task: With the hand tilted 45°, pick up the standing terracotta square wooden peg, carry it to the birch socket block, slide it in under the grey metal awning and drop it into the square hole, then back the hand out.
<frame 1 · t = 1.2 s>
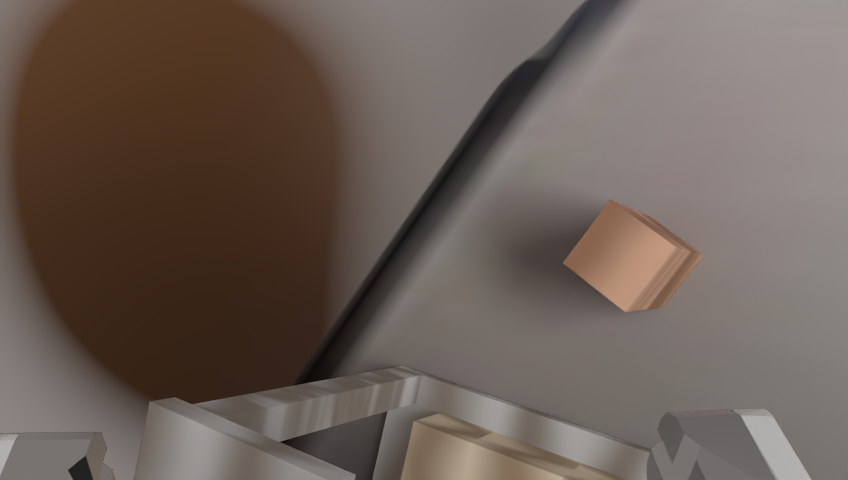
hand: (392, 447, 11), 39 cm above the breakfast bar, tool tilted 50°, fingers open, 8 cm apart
peg: (655, 261, 47), on the breakfast bar
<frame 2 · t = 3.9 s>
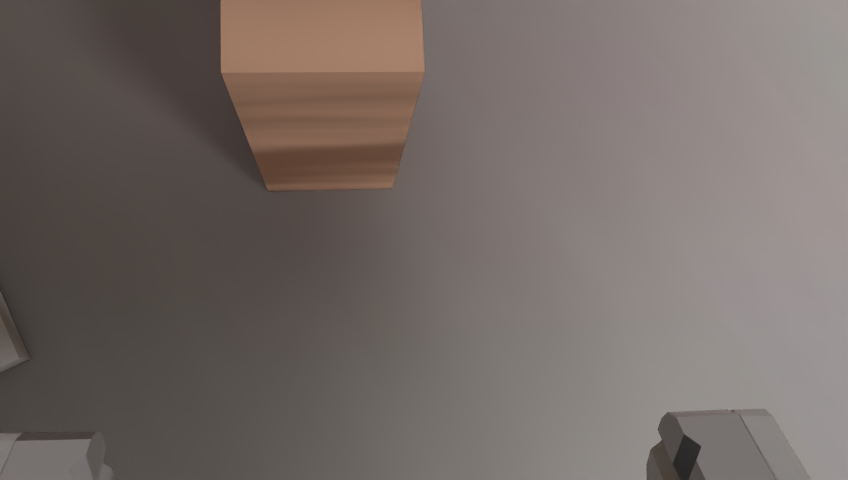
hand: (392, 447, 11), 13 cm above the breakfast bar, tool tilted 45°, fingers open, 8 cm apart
peg: (328, 130, 25), on the breakfast bar
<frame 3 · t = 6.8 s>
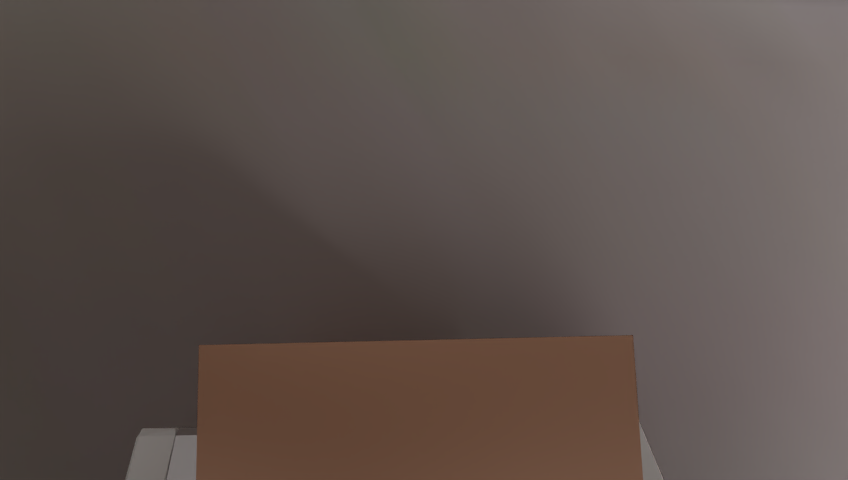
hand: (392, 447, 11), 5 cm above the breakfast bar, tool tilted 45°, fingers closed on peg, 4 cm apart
peg: (377, 453, 17), on the breakfast bar, touching gripper
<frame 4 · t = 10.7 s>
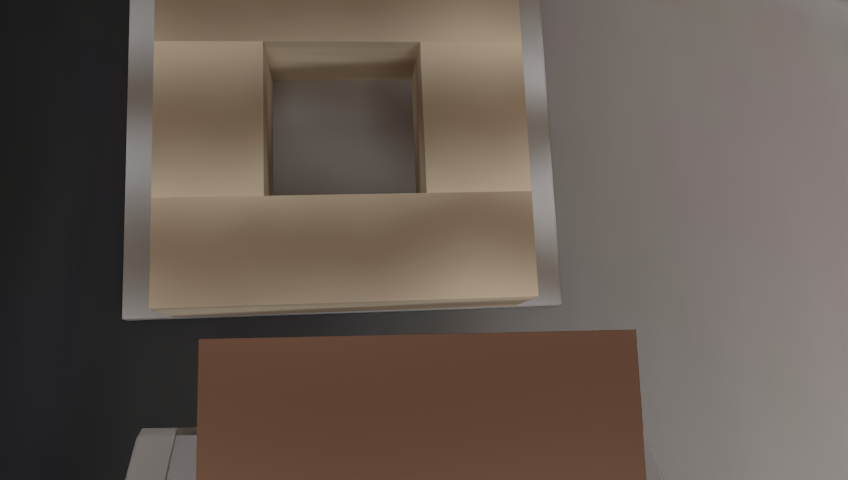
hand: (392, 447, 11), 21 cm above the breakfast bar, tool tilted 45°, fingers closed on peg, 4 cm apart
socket: (344, 152, 34), on the breakfast bar
peg: (376, 451, 17), point 16 cm above the breakfast bar, touching gripper
when the fingers open (8 cm above the breakfast bar, at t = 14.6 s): peg drops 2 cm, resting on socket.
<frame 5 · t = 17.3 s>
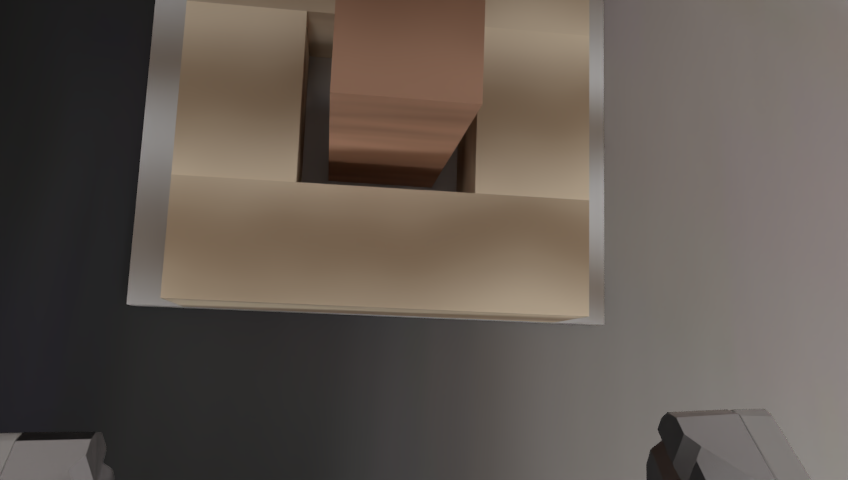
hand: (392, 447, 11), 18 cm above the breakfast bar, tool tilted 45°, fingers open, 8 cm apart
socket: (380, 141, 31), on the breakfast bar
peg: (382, 134, 30), point 1 cm above the breakfast bar, touching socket
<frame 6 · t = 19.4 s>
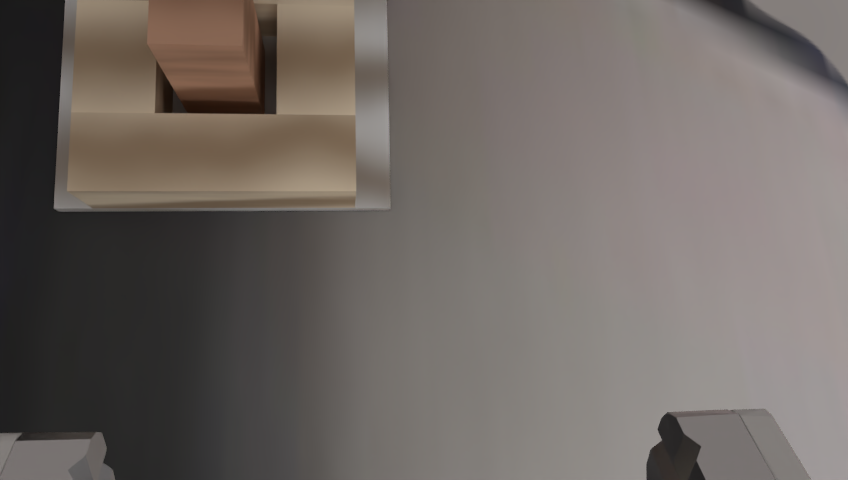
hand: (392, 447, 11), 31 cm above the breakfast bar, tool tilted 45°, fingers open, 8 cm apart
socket: (230, 91, 44), on the breakfast bar
peg: (228, 85, 43), point 1 cm above the breakfast bar, touching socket
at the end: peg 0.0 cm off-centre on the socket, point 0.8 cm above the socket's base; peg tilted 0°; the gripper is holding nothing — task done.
